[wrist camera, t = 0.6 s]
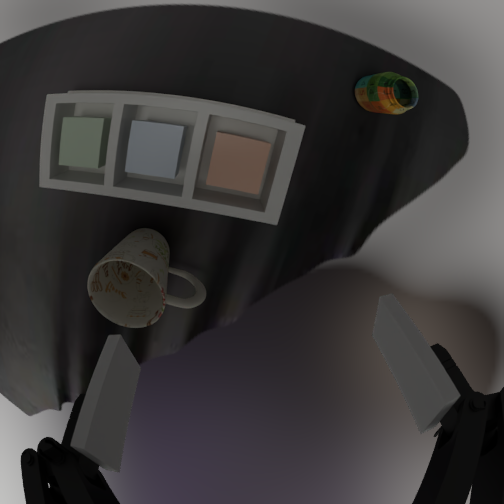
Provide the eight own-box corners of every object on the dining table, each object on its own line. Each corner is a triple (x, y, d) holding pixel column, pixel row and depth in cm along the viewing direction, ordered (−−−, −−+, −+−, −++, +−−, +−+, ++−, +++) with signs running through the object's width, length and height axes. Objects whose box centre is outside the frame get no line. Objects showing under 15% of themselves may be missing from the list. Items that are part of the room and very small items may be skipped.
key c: (207, 178, 27) (205, 184, 25) (217, 130, 25) (216, 132, 22) (255, 188, 28) (258, 194, 26) (267, 141, 26) (271, 143, 23)
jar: (381, 116, 28) (420, 121, 20) (348, 107, 27) (383, 107, 20) (385, 82, 25) (425, 80, 18) (352, 71, 25) (388, 63, 18)
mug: (123, 210, 30) (89, 247, 21) (219, 241, 34) (218, 289, 25) (113, 265, 34) (85, 313, 25) (199, 293, 37) (194, 347, 28)
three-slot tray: (64, 177, 27) (39, 191, 22) (74, 91, 22) (47, 89, 17) (267, 210, 32) (275, 229, 27) (291, 119, 27) (306, 120, 22)
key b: (132, 167, 25) (124, 171, 23) (139, 119, 23) (132, 120, 21) (178, 173, 26) (174, 179, 24) (187, 125, 24) (184, 126, 22)
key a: (69, 160, 24) (58, 164, 22) (74, 116, 22) (63, 117, 19) (107, 164, 25) (97, 168, 23) (113, 117, 22) (104, 118, 20)
